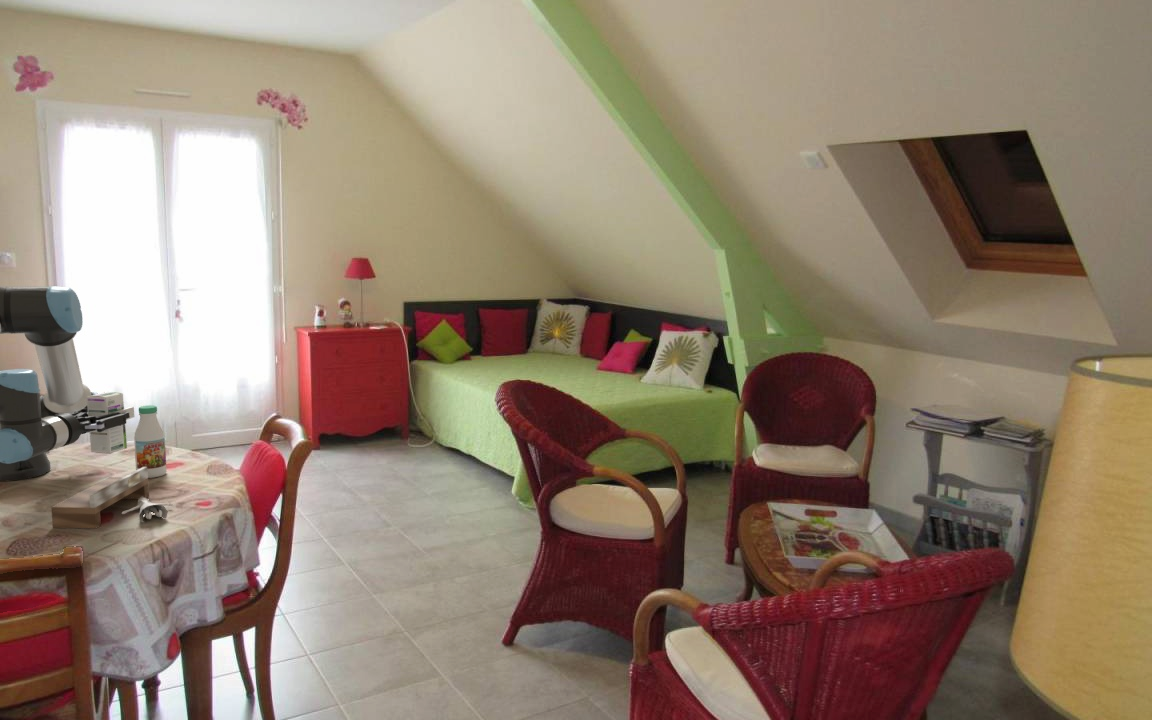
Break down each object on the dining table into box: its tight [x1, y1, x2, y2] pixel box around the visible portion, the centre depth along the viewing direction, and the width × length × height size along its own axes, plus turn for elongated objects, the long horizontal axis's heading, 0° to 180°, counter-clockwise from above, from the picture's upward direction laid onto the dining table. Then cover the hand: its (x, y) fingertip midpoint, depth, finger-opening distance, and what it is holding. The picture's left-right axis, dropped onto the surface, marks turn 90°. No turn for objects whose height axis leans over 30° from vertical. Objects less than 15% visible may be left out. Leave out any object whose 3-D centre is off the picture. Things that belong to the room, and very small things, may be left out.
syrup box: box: [87, 391, 128, 455], centre depth 201 cm, size 6×6×14 cm
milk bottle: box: [133, 404, 167, 479], centre depth 228 cm, size 8×8×20 cm
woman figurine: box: [122, 496, 175, 523], centre depth 198 cm, size 12×4×18 cm
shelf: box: [51, 467, 150, 529], centre depth 199 cm, size 24×10×8 cm, turn 1°
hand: (119, 411), depth 206 cm, fingers closed on syrup box, 6 cm apart
